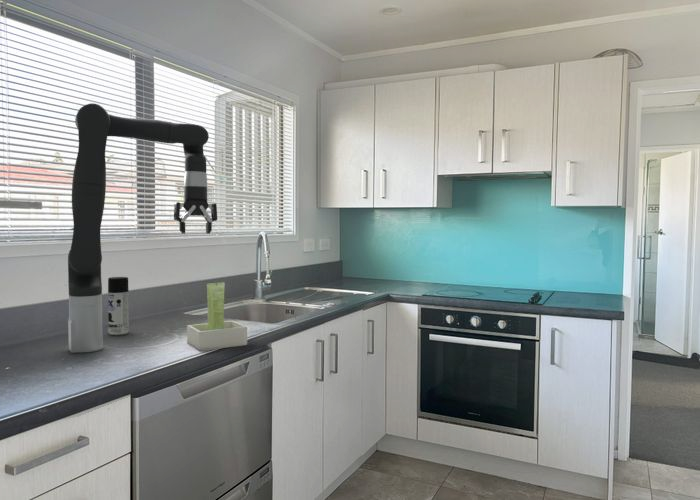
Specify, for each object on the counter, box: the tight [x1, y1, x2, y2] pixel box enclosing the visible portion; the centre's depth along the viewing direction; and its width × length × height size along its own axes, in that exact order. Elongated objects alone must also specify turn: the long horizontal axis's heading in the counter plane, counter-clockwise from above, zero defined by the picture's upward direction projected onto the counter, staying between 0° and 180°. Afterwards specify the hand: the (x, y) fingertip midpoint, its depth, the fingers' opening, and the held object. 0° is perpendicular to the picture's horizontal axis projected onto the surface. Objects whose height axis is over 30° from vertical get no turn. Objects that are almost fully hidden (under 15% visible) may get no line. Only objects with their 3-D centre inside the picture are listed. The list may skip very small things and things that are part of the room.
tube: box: [206, 281, 226, 330], centre depth 174 cm, size 6×5×20 cm
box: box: [186, 320, 248, 352], centre depth 174 cm, size 16×12×6 cm
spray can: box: [107, 276, 130, 336], centre depth 188 cm, size 7×7×20 cm
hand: (195, 233), depth 181 cm, fingers open, 8 cm apart
